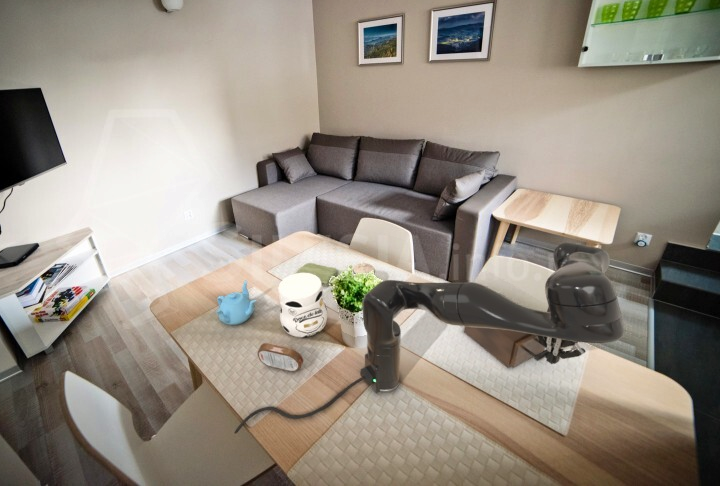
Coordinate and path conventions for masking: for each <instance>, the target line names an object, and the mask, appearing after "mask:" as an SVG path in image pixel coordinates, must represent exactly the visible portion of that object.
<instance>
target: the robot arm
mask: <svg viewBox="0 0 720 486" xmlns="http://www.w3.org/2000/svg"><path fill="white" fill-rule="evenodd" d="M610 263H611V257H610V254H609V253H608V252H607V251H606V250H605V249H602V248H601V247H596V246H590V245H586V244H580V243H576V242H570V241H563V242H561V243H559V244H558V245H557V246H556V247H555V248H554V251H553V264H554V269H555V271H554V272H553V273H552V274H551V275H549V276H548V278H547V279H546V281H545V285H544V292H545V297H546V301H547V310H546V311H544V310H539V309H534V308H531V307H527V306H526V305H525V306H524V305H521V304H520V303H517V302H515V301H513V300H512V299H510V298H509V297H507V296H505V295H504V294H502V293H500V292H498V291H495V290H494V289H492V288H491V287H488V286H486V285H483V284H481V283H478V282H474V281H451V282H415V281H414V282H412V281H406V280H405V281H404V280H398V279H397V280H396V279H386V280H383V281H380V282H379V283H377V284H375V287H374V288H373V289H371V290H370V291H369V292H368V293H364V295H363V298H362V300H361V301H362V302H361V311H362V319H363V320H362V321H363V327H364V330H365V332H366V349H367V350H366V352H367V353H365V354H364V367H362V368H360V369H359V372H360V377H359V378H358V379H355V381H353V382H351V383H350V384H348V385H347V386H346V387H345V388H344V389H342V390H341V391H340V392H339V393H337V394H336V395H335V396H334V397H333V398H332V399H331V400H329V401H328V402H327V403H325V404H324V405H322V406H320V407H318V408H316V409H315V410H313V411H310V412H307V413H304V414H297V415H292V414H289V413H287V412H284V411H282V410H280V409H279V408H277V407H273V406H266V407H261V408H258V409H257V410H255V411H253V412H251V413H250V414H249V415H248V416H246V417H245V418H244V419H243V420H242V421H241V423H239V425H238V426H237V427H236V429H235V430H234V433H233V434H234V435H235V434H238V433H239V431H240V430H241V429H242V428H243V426H245V424H246V423H247V422H248V421H249V420H250V419H251V418H252V417H254V416H256V415H257V414H259V413H262V412H265V411H273V412H275V413H277V414H279V415H281V416H283V417H285V418H287V419H290V420H291V419H292V420H301V419H305V418H308V417H311V416H313V415H315V414H318V413H320V412H321V411H323V410H325V409H326V408H328V407H330V406H331V405H332V404H334V403H335V401H337V400H338V399H339V398H341V396H342V395H344V394H345V393H346V392H347V391H348V390H350V389H351V388H352V387H354V386H355V385H357V384H358V383H361V382H362V381H364V382H365V384H366V386H367V387H369V386H370V387H371V388H372V389H373V391H374V393H375V394H377V393H384V394H385V393H391V392H393V391H395V390H396V389H398V388H399V385H400V382H401V381H400V380H401V377H400V374H401V373H400V369H401V368H400V366H401V345H402V344H401V341H402V331H401V330H402V329H401V326H400V325H399V323H398V322H396V321H395V318H396V317H398V316H399V315H400V314H401V313H402V312H404V311H407V310H420V311H425V312H427V313H428V314H430V315H431V316H432V317H434V319H436V320H438V321H439V322H441V323H443V324H446V325H450V326H456V327H457V326H458V327H464V328H465V327H477V328H491V329H501V330H510V331H517V332H524V333H529V334H535V335H537V336H538V338H539V341H540V343H541V344H542V345H543V346H545V350H546V349H547V352H546V356H545V357H544V358H545V359H546V362H547V363H549V364H551V365H553V364H554V365H555V364H557V363H558V362H559V361H560V359H562V360H565V359H566V360H567V359H571V358H576V357H580V356H582V355H583V354H585V353H586V349H585V348H584V347H581V346H580V345H579V344H578V343H585V344H607V343H615V342H617V341H619V340H621V339H622V338H623V337H624V336H625V333H626V331H625V324H624V320H623V316H622V311H621V307H620V304H619V300H618V296H617V295H618V294H617V292H616V289H615V286H614V284H613V283H612V281H611V280H610V278H609V277H608V276H607V275H606V273H607V271H608V270H609V268H610ZM499 293H500V294H499ZM501 294H502V295H501ZM504 296H505V297H504ZM506 297H507V298H506ZM511 300H512V301H511ZM543 337H544V338H543ZM544 339H545V340H544ZM569 347H571V348H570V350H565V348H569Z"/></svg>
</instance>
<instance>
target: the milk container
mask: <svg viewBox="0 0 720 486" xmlns="http://www.w3.org/2000/svg"><path fill="white" fill-rule="evenodd" d="M295 273H296V272H295ZM277 289H278V297H279V298H278V299H279V303H280V311H279V320H280V324H281V326H282V329H283V330H284V331H285V333H287V335H289V336H292V337H295V338H300V339H301V338H310V337H312V336H313V337H314V336H315V335H317V334H319V333H321V331H323V330H324V328H325V326H326V325H327V321H328V307H327V305H326V303H325V299H324V286H322V283H321V281H320V279H319V278H318V277H317V276H316V275H313V274H310V273H296V274H294V273H293V274H290V275H289V274H288V275H287V276H286V277H284V278H283V279H282V280H281V281H280V282H279V285H278V288H277Z"/></svg>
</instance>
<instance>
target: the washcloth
mask: <svg viewBox="0 0 720 486" xmlns="http://www.w3.org/2000/svg"><path fill="white" fill-rule="evenodd" d="M296 273H310V274H313V275H316V276H317V277H318V278H319V279H320V281H321V283H322V287H327V286H328V285H329V284H328V282H329V280H330V278H331V276H335V277H336V276H337V275H338V274H339V270H338V269H337V268H336V267H332V266H327V265H322V264H317V263H312V262H307V263H305V264H304V265H303V266H301V267H300V268H299V269H298V270H297V271H296V272H293V274H296ZM329 283H330V282H329Z"/></svg>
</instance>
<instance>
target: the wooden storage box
mask: <svg viewBox="0 0 720 486" xmlns="http://www.w3.org/2000/svg"><path fill="white" fill-rule="evenodd" d="M498 293H499V294H501V295H503V294H502V293H500V292H498ZM503 296H504V297H506V298H508V297H507V296H505V295H503ZM510 300H511V301H513V300H512V299H510ZM463 328H464V329H463V333H464V334H466V335H467V336H468V337H469V338H470V339H472V340H473V341H474V342H475V343H477V344H478V345H479V346H480V347H482V348H483V349H484V350H485V351H486V352H487V353H488V354H490V355H491V356H492V357H494V358H495V359H496V360H497V361H499V362H500V363H501V364H502V365H503V366H505V367H506V368H507V369H509V368H510V367H511V368H512V366H511V365H510V363H511V359H512V354H513V350H514V346H515V343H516V342H517V341H519V340H521V339H523V338H525V337H526V336H528V335H530V334H529V333H524V332H517V331H510V330H501V329H491V328H477V327H465V326H464V327H463Z"/></svg>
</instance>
